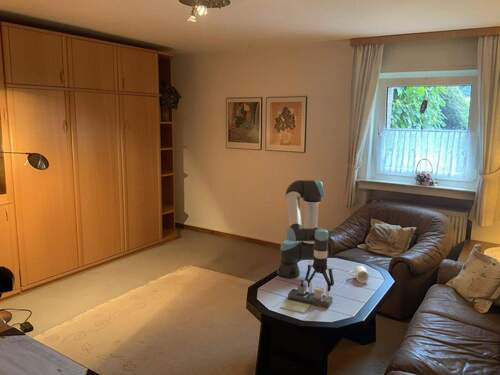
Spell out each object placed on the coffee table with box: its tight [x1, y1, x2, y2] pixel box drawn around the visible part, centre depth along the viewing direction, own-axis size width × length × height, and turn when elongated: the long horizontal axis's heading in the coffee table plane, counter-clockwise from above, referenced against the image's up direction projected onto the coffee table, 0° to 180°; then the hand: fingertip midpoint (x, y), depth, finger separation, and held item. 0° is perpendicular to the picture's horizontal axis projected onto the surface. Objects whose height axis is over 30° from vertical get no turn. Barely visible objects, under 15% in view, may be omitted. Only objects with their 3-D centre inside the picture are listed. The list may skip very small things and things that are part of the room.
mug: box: [348, 265, 370, 283], centre depth 267 cm, size 12×10×8 cm
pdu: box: [287, 279, 334, 309], centre depth 233 cm, size 24×8×12 cm, turn 64°
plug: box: [313, 286, 324, 300], centre depth 231 cm, size 4×4×8 cm
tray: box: [279, 299, 311, 314], centre depth 226 cm, size 14×10×1 cm
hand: (318, 294), depth 231 cm, fingers open, 9 cm apart
